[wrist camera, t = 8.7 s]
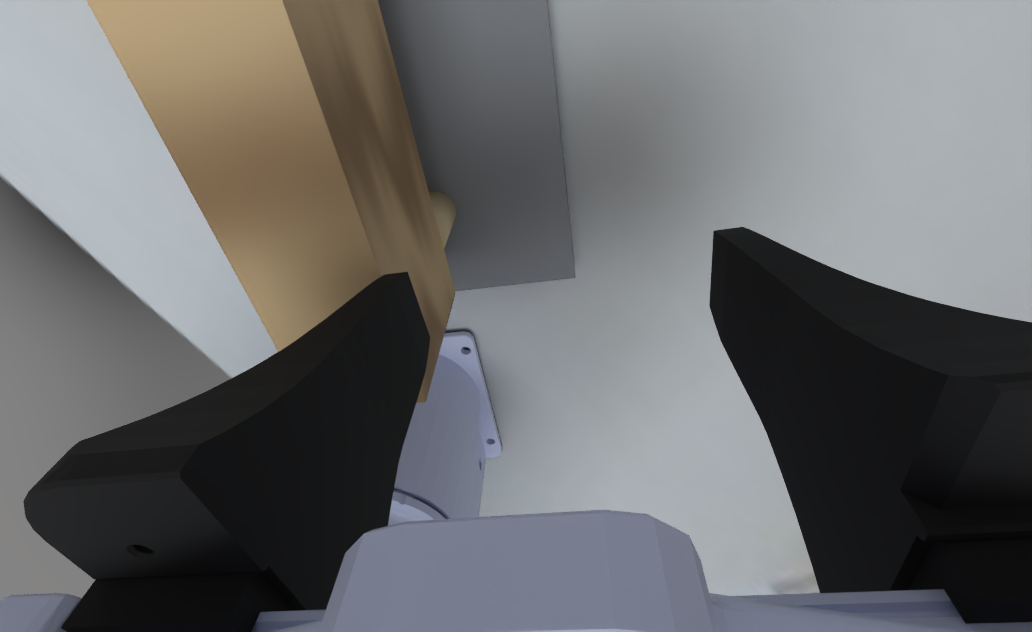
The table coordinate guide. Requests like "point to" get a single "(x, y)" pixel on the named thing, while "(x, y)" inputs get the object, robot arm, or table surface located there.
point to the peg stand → (486, 134)
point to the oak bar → (290, 149)
